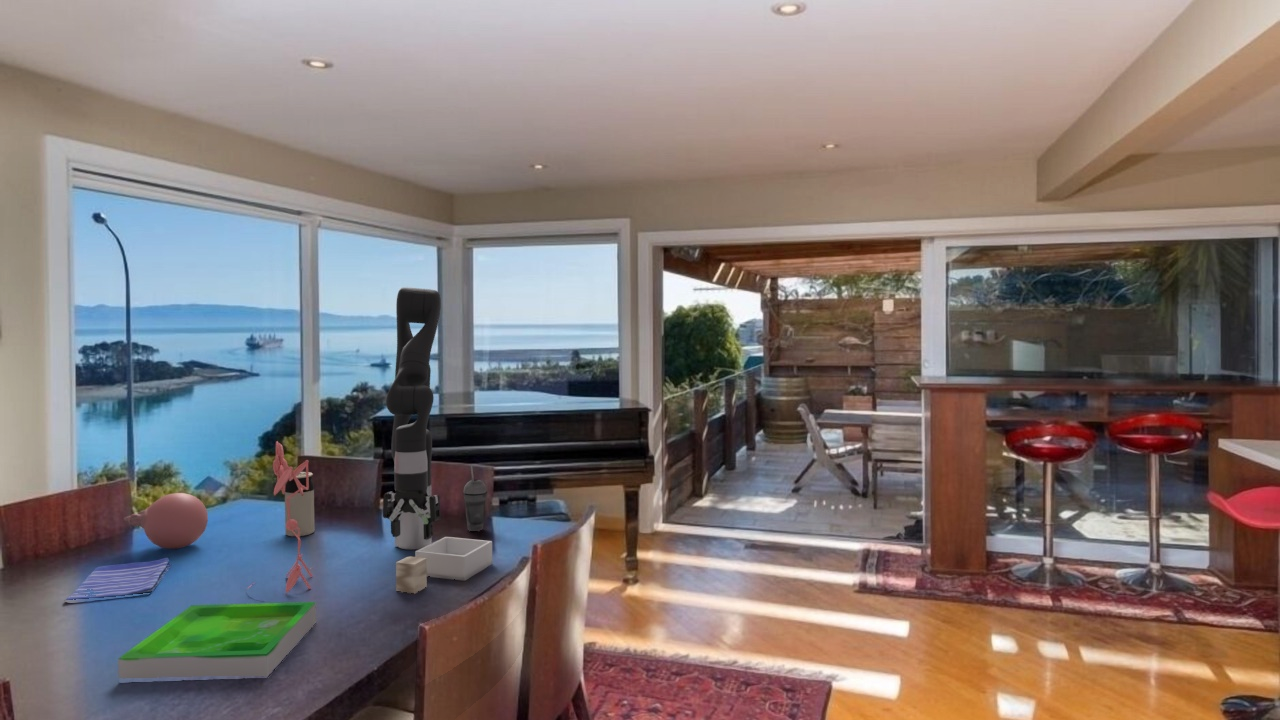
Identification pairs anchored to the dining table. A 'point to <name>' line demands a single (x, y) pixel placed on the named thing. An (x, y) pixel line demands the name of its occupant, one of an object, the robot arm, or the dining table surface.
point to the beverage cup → (475, 503)
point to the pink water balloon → (172, 520)
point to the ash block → (411, 574)
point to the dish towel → (123, 579)
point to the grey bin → (456, 557)
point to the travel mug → (300, 505)
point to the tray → (220, 641)
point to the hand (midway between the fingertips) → (411, 537)
